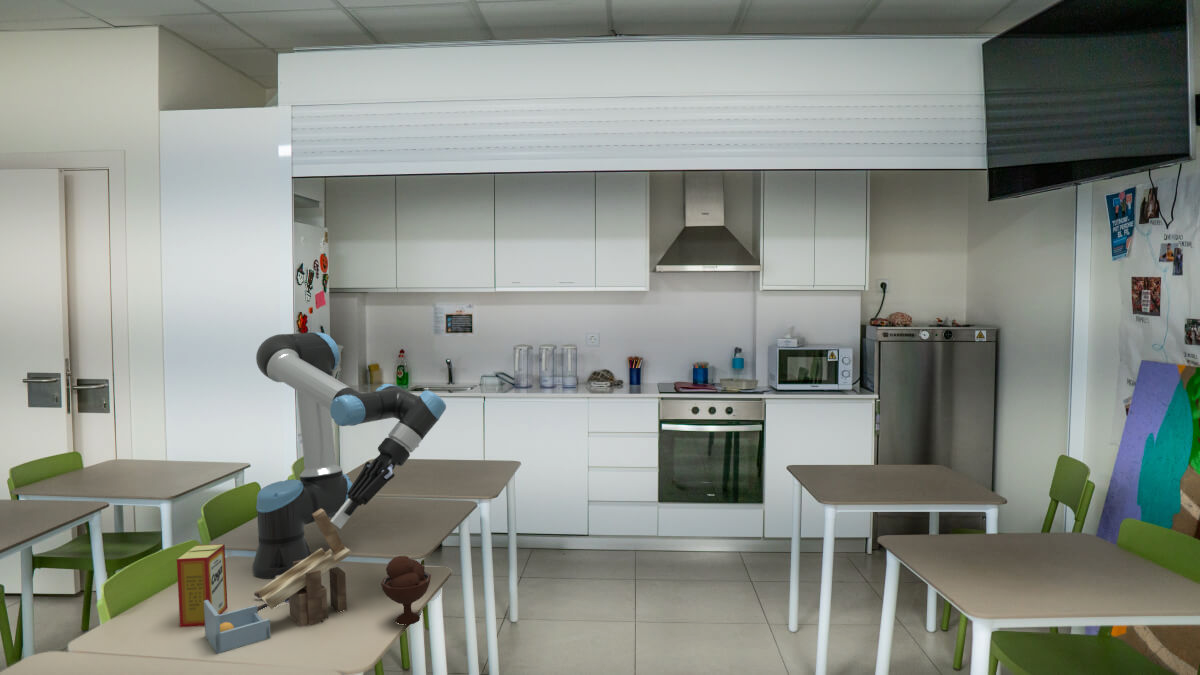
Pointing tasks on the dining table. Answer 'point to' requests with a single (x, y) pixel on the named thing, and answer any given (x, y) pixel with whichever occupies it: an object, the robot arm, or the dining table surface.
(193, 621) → the baking soda box
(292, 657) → the dining table surface
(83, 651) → the dining table surface
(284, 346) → the robot arm
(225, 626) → the ball
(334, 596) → the stand
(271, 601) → the lever
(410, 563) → the ice cream bowl
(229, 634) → the bin
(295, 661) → the dining table surface
